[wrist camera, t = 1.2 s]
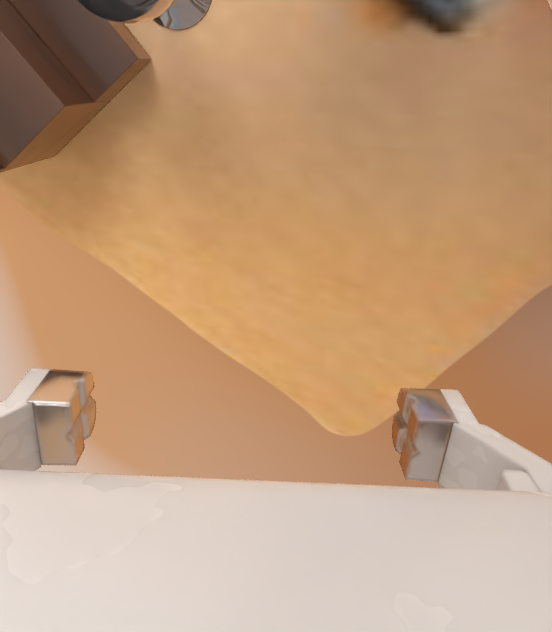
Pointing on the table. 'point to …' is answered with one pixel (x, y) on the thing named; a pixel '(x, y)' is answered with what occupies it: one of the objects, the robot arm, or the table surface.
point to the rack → (57, 74)
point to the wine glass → (150, 11)
